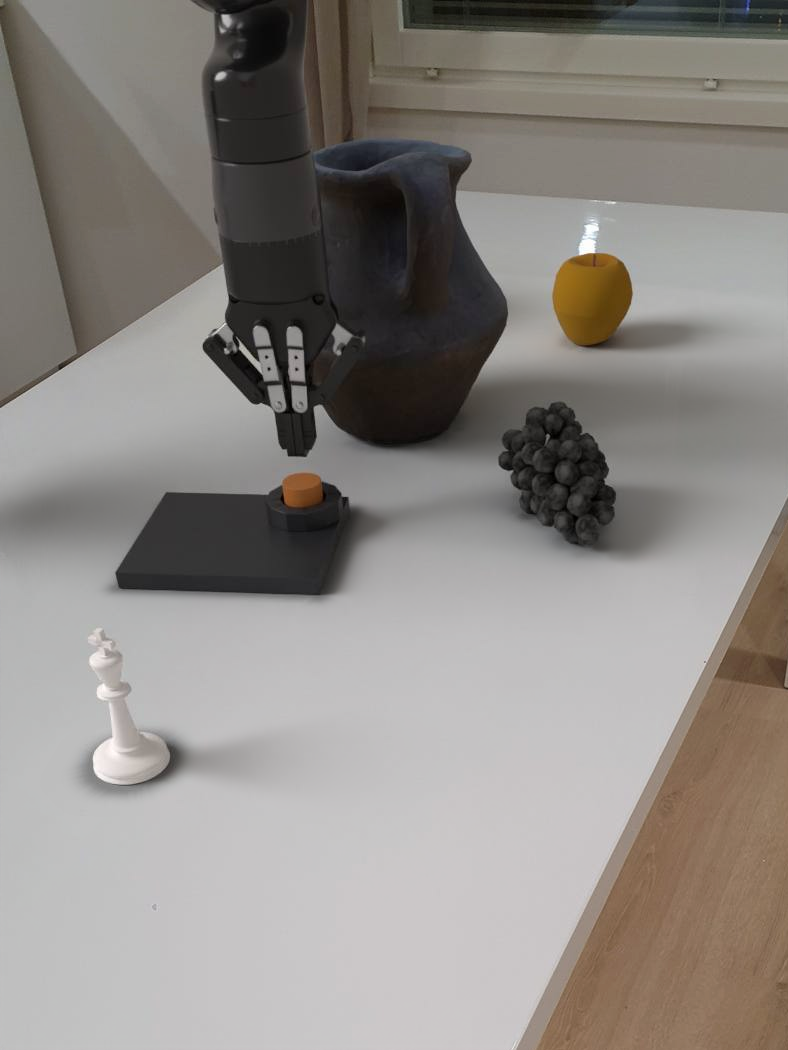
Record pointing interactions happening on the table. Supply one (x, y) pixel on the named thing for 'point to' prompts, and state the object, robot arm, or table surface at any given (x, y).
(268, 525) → the scale
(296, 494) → the button
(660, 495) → the table surface
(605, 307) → the apple
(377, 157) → the pitcher
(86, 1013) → the table surface
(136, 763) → the chess piece
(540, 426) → the fruit
